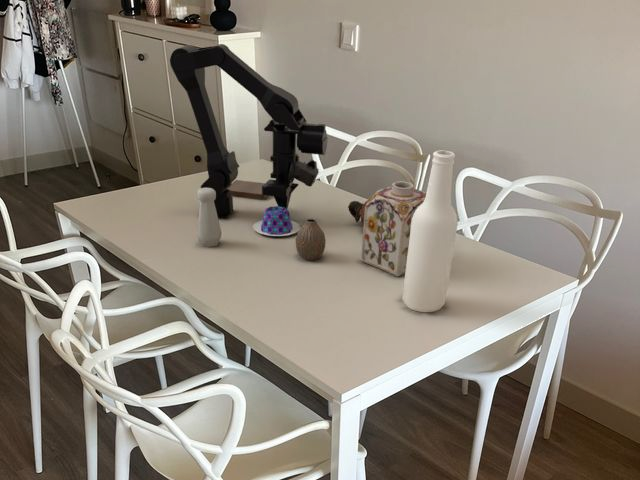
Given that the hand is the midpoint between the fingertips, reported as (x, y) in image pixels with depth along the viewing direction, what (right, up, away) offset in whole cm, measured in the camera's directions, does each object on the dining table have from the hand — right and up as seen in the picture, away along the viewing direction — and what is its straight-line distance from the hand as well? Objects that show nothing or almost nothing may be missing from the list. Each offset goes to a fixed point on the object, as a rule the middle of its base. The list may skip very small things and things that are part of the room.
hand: (284, 213), depth 172 cm
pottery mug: (+22, -4, 0) cm, 22 cm away
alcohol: (+31, -30, -34) cm, 55 cm away
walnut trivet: (-11, +12, +19) cm, 25 cm away
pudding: (-2, -6, -4) cm, 7 cm away
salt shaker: (-17, -12, -13) cm, 24 cm away
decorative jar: (+27, -17, -18) cm, 37 cm away
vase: (+7, -16, -17) cm, 24 cm away
